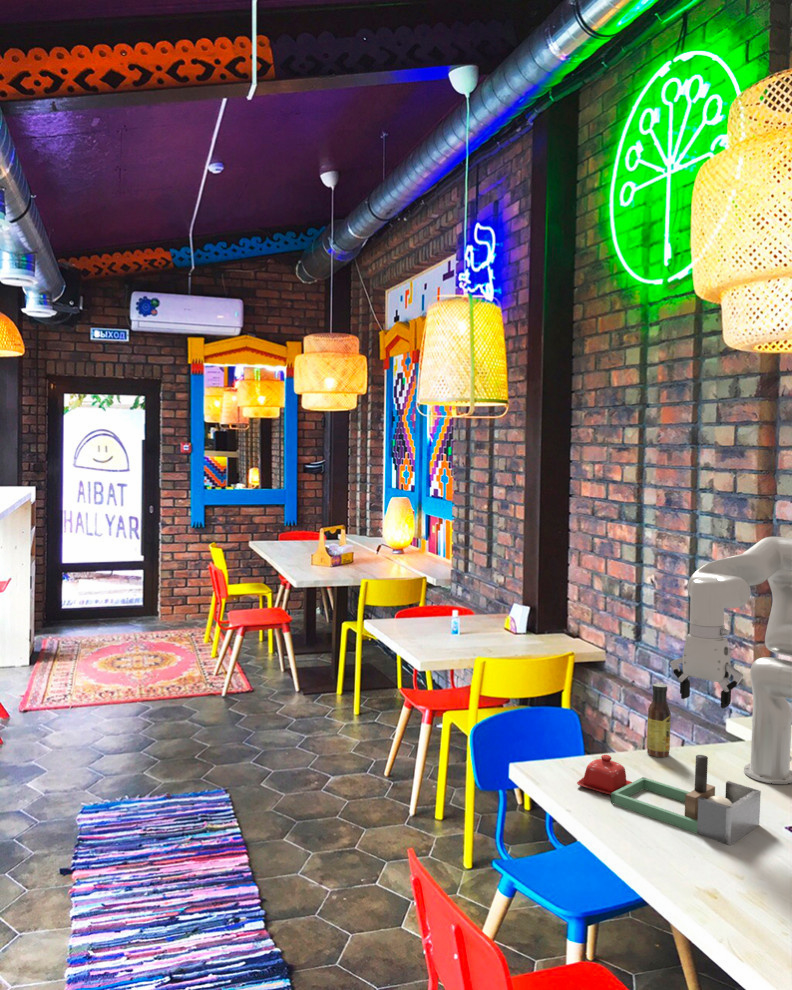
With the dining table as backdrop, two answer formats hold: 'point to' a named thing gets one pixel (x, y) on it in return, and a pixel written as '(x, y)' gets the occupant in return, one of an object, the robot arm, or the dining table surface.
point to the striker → (698, 788)
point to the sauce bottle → (658, 723)
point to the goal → (729, 814)
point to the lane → (625, 801)
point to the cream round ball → (720, 800)
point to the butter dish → (604, 775)
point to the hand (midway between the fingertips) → (704, 702)
